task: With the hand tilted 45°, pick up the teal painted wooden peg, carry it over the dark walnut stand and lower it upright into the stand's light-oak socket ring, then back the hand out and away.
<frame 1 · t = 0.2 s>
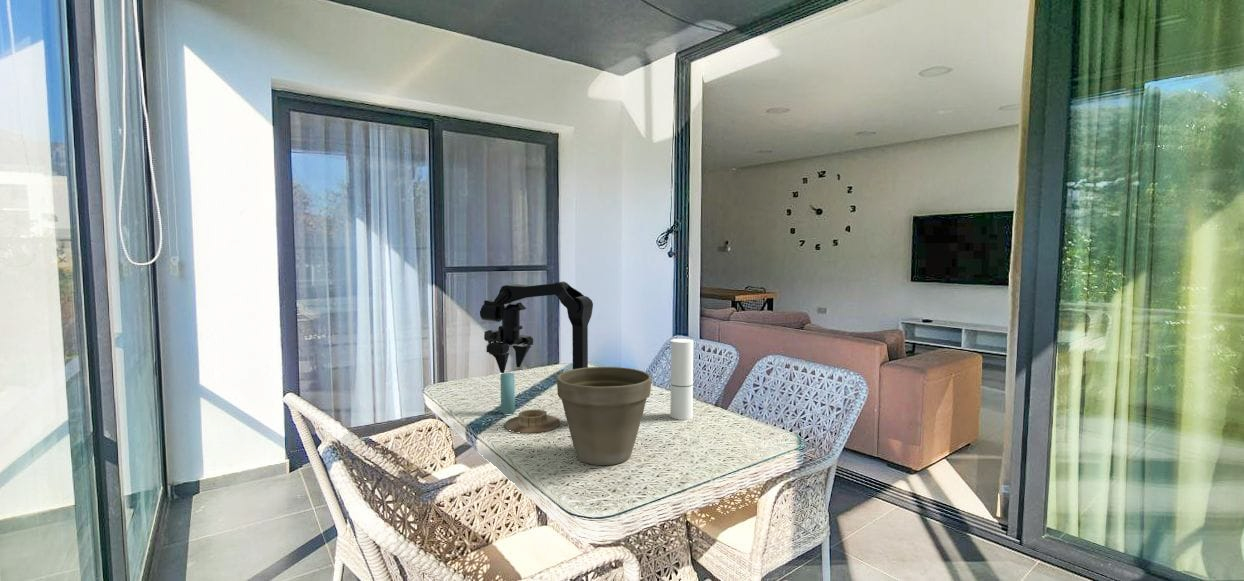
hand: (510, 369, 186), 15 cm above the table, tool pointing down, fingers open, 9 cm apart
walnut stand: (532, 424, 175), on the table
teal peg: (508, 412, 187), on the table
plant pot: (604, 455, 150), on the table
cylindrical container: (681, 417, 184), on the table
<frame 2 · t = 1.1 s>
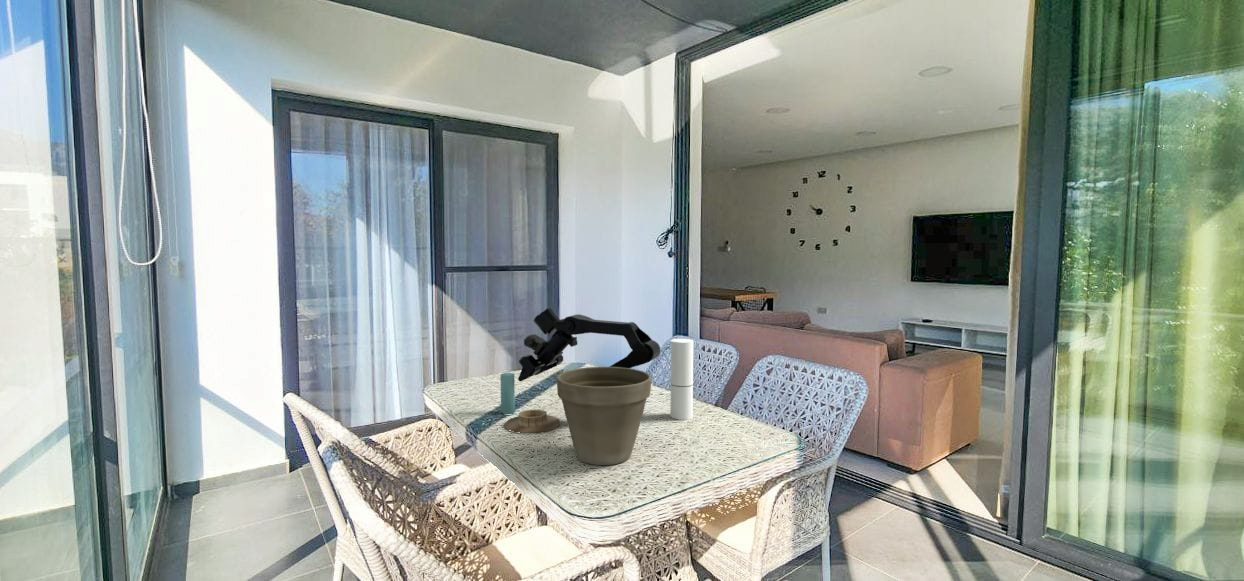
hand: (527, 377, 183), 13 cm above the table, tool tilted 45°, fingers open, 9 cm apart
nothing on the table moved.
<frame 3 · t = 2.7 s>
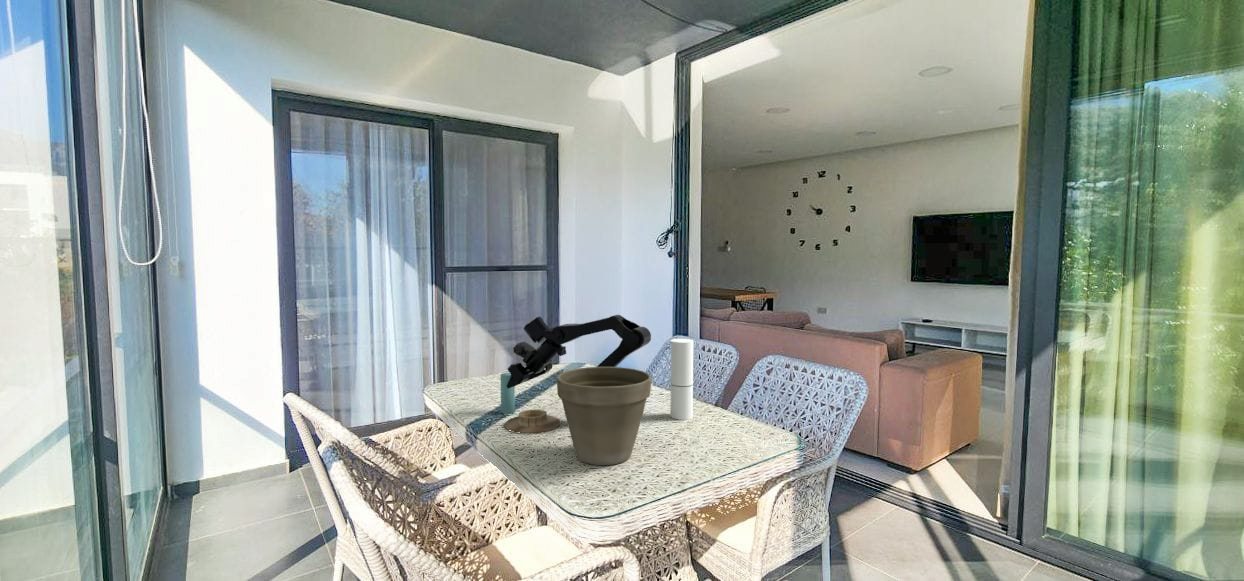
hand: (515, 384, 185), 10 cm above the table, tool tilted 45°, fingers open, 9 cm apart
nothing on the table moved.
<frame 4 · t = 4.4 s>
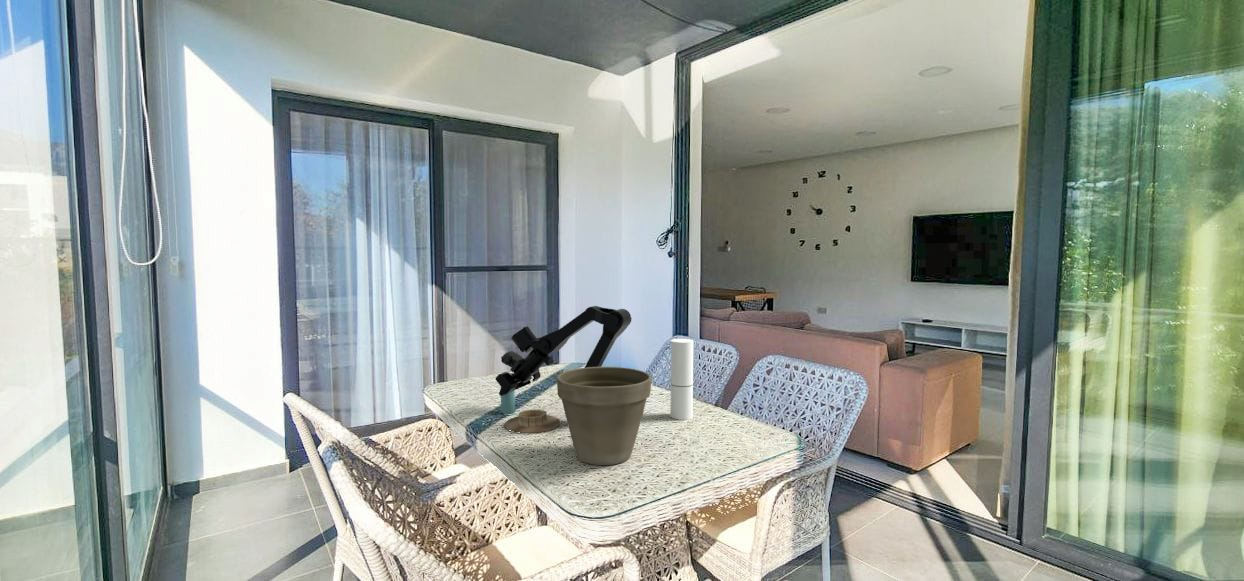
hand: (504, 392, 187), 7 cm above the table, tool tilted 45°, fingers closed on teal peg, 4 cm apart
teal peg: (508, 412, 187), on the table, touching gripper
everything else where it was.
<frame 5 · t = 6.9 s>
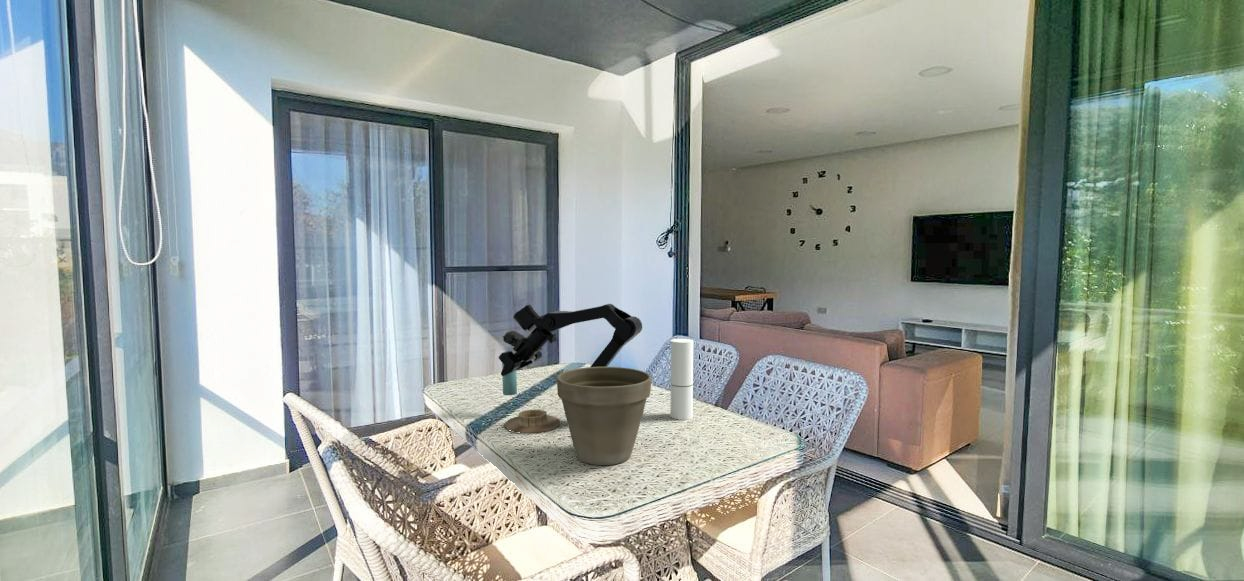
hand: (505, 373, 184), 14 cm above the table, tool tilted 45°, fingers closed on teal peg, 4 cm apart
teal peg: (509, 393, 184), point 7 cm above the table, touching gripper
everything else where it was.
when the fingers open (9 cm above the table, at t = 9.6 s): teal peg drops 1 cm, resting on walnut stand.
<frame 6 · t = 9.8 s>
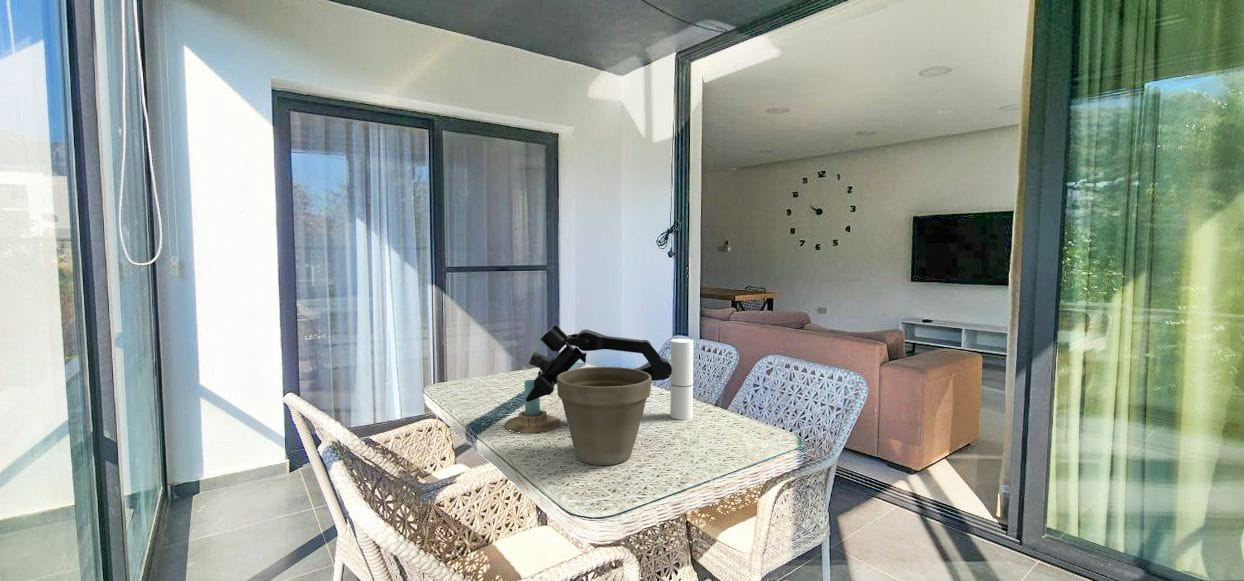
hand: (527, 397, 175), 9 cm above the table, tool tilted 45°, fingers open, 7 cm apart
teal peg: (532, 422, 175), point 1 cm above the table, touching walnut stand
everything else where it was.
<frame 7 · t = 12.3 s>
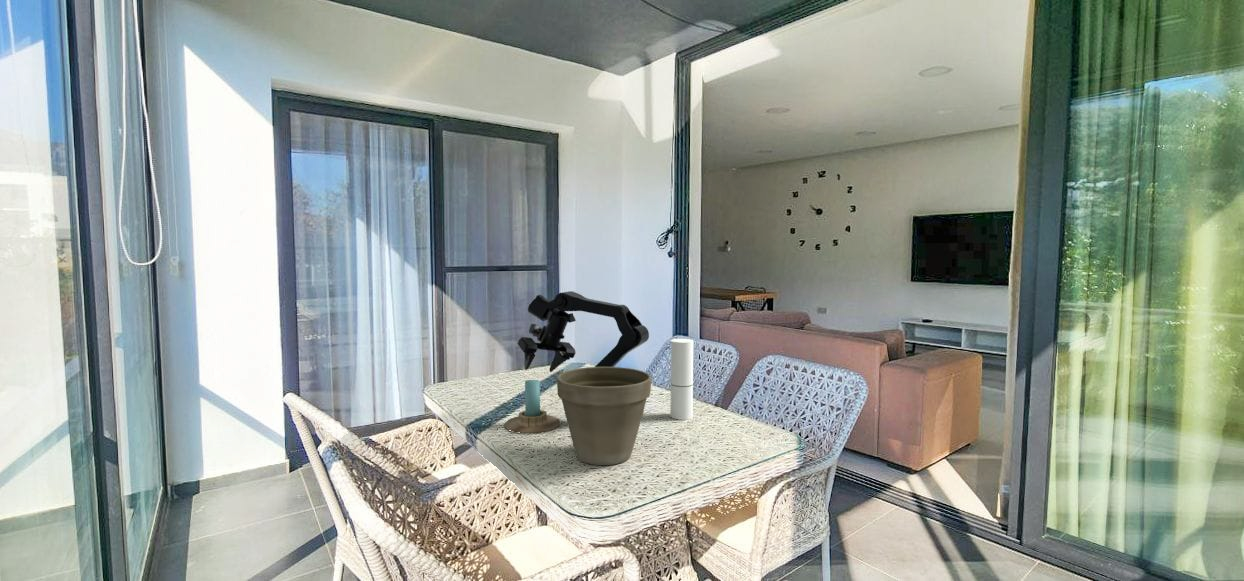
hand: (538, 370, 182), 15 cm above the table, tool tilted 25°, fingers open, 9 cm apart
nothing on the table moved.
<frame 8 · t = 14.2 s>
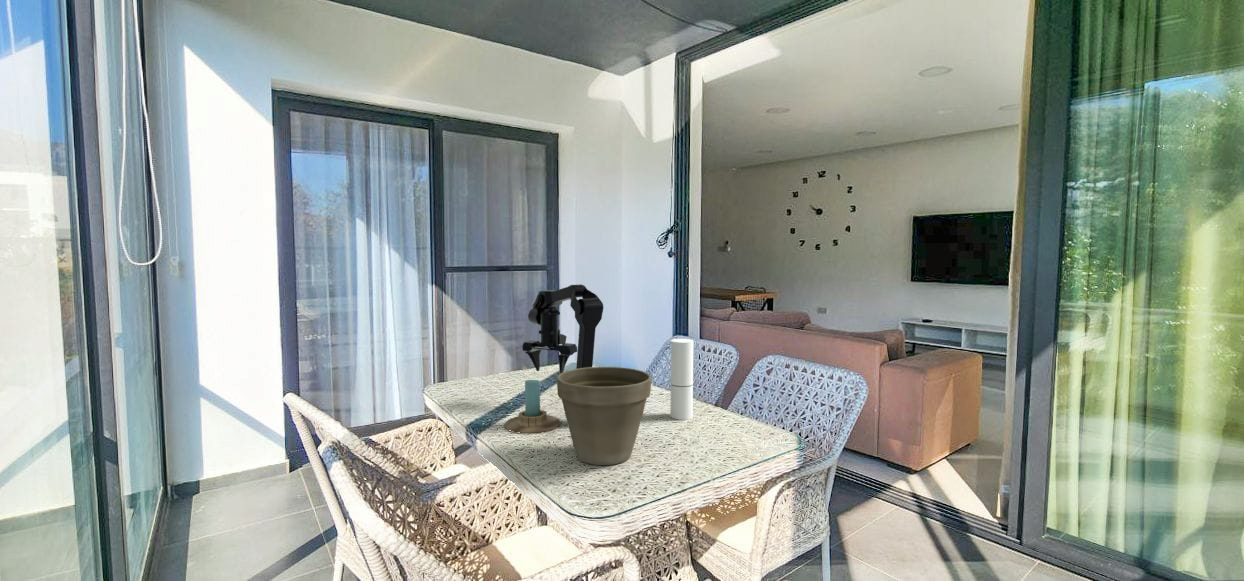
hand: (549, 372, 194), 12 cm above the table, tool pointing down, fingers open, 9 cm apart
nothing on the table moved.
at the end: teal peg 0.0 cm off-centre on the walnut stand, point 0.6 cm above the walnut stand's base; teal peg tilted 0°; the gripper is holding nothing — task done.
